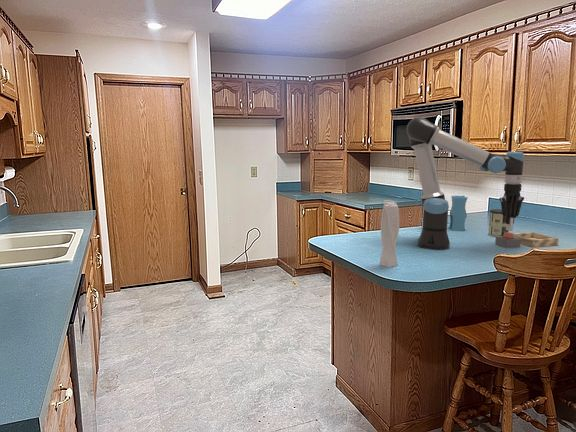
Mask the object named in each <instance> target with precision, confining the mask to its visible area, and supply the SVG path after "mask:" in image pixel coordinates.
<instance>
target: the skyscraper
mask: <svg viewBox="0 0 576 432" xmlns="http://www.w3.org/2000/svg"><path fill="white" fill-rule="evenodd" d="M382 202H383V207H382V212H381V220H380V238H381V245H382V251H381V256H380V260H379V266H383V267H386V268H392V267H395V266H398V258H397V252H396V251H397V250H396V243H397V242H398V241H397V240H398V237H399V233H400V212H399V205H398V204H397V202H396V201H394V200H390V199H385V200H382Z"/></svg>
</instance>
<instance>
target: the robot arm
mask: <svg viewBox="0 0 576 432" xmlns="http://www.w3.org/2000/svg"><path fill="white" fill-rule="evenodd" d="M406 134H407V136H408V140H409V145H410V148H412V149H413V150H414V154H415V159H416V164H417V169H418V175H419V180H420V184H421V189H422V196H421V197H420V199H421V205H422V227H421V228H422V229H421V233H420V235H419V237H418V240H417V246H418V247H420V248H423V249H428V250H437V251H438V250H447V249H450V245H451V243H450V239H449V238H450V237H449V235H448V219H449V218H448V217H449V208H450V205H449V201H448V200H446V197H445V193H444V192H442V191H441V188H440V182H439V177H438V173H437V168H436V162H435V157H434V153H433V148H432V145H433V146H435V147H438V148H440V149H443V150H444V151H445V152H448V153H450V154H453V155H455V156H456V157H459V158H461V159H464V161H465V160H466V161H468V162H469V163H472V164H474V165H476V166H479V167H478V168H479V171H481V172H482V171H483V172H491V173H493V174H498V173H501V172H505V174H504V186H503V191H504V193H503V196H502V197H499V201H500V206H501V210H502V215H503V216H504V217H506V230H508V231H509V232H513V230H514V229H513V228H514V224H515V219H516V218H517V217H518V216H519V215H520V211H521V208H522V204H523V201H524V200H525V197H524V196H521V192H522V186H523V184H522V182H523V173H524V172H523V171H524V163H525V157H524V156H525V155H524V154H525V153H524V152H523V151H506V155H496V154H494V153H491V152H490V151H487V150H485V149H483V148H481V147H479V146H477V145H474V144H473V143H470V142H468V141H466V140H464V139H461V138H459V137H458V136H455V135H453V134H451V133H448V132H446V131H444V130H442V129H440V127H439V125H437V124H435V123H432V121H429V120H428V119H426V117H425V118H424V117H422V116H418V117H413V118H412V119H410V121H409V122H408V124H407V125H406Z"/></svg>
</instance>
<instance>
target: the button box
mask: <svg viewBox="0 0 576 432" xmlns="http://www.w3.org/2000/svg"><path fill="white" fill-rule="evenodd" d="M494 242H495V244H494V245H497V246H499V247H501V248H502V247H503V248H506V249H507V248H509V249H511V248H512V249H513V248H521V245H522V244H521V239H519V238H515V237H513V239H505V238H503V236H497V237H495V240H494Z"/></svg>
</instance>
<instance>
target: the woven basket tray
mask: <svg viewBox="0 0 576 432" xmlns="http://www.w3.org/2000/svg"><path fill="white" fill-rule="evenodd" d="M513 237H515V238H519V239H521V244H520V245H523V246H526V247H529V248H543V247H554V246H559V238H557V237H555V236H549V235H546V234H542V233H538V232H533V231H531V232H516V233H515V232H514V233H513Z"/></svg>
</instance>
